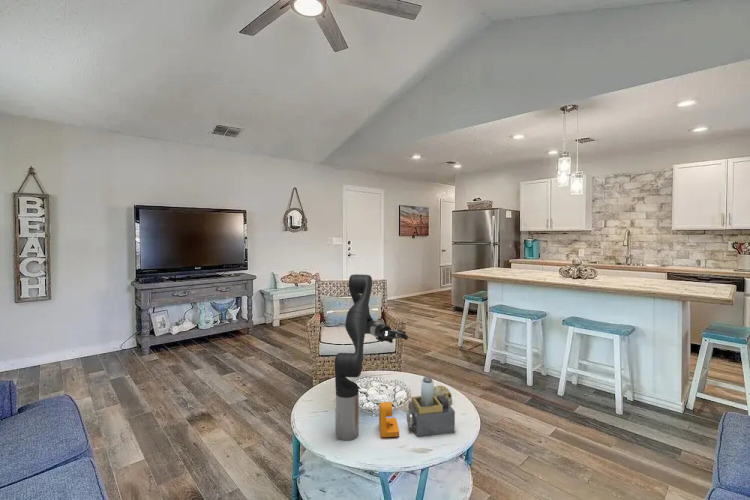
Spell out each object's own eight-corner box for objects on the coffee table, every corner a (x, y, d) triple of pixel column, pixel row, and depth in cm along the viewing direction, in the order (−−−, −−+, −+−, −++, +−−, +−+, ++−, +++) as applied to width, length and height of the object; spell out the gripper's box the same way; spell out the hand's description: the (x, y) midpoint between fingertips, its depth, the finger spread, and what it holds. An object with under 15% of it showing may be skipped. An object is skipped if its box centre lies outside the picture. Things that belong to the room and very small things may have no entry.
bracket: (399, 438, 143) (399, 409, 142) (381, 439, 143) (381, 409, 142) (395, 423, 154) (395, 396, 153) (379, 424, 153) (378, 397, 153)
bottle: (423, 410, 147) (424, 382, 146) (419, 404, 152) (419, 376, 151) (434, 409, 148) (435, 381, 147) (430, 403, 153) (430, 375, 152)
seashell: (456, 404, 170) (447, 386, 168) (438, 413, 169) (429, 396, 168) (450, 393, 180) (441, 376, 178) (433, 402, 179) (424, 385, 178)
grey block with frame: (412, 437, 143) (412, 408, 143) (404, 423, 154) (404, 395, 153) (454, 432, 147) (454, 404, 146) (444, 418, 158) (444, 392, 157)
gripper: (368, 325, 177) (386, 333, 163) (392, 321, 184) (411, 329, 171) (368, 340, 177) (386, 349, 164) (392, 336, 185) (411, 344, 171)
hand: (399, 339), depth 167 cm, fingers open, 8 cm apart
